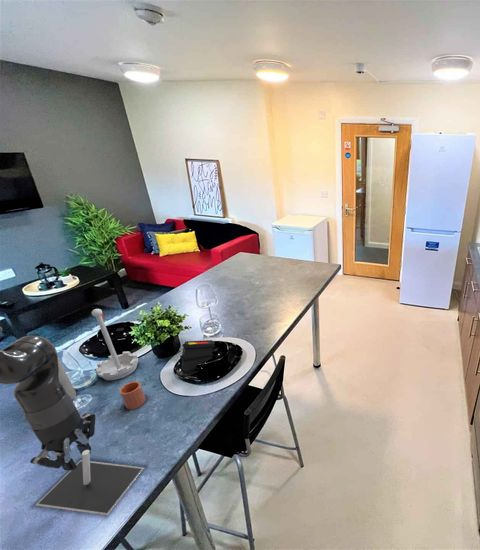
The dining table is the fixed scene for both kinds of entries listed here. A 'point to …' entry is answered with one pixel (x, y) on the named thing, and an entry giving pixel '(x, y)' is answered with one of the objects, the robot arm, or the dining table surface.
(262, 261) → the dining table surface
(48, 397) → the robot arm
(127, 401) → the pen cup
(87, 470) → the stylus
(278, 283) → the dining table surface
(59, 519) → the dining table surface
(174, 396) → the dining table surface
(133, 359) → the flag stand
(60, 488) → the tablet
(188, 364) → the striped top black block
